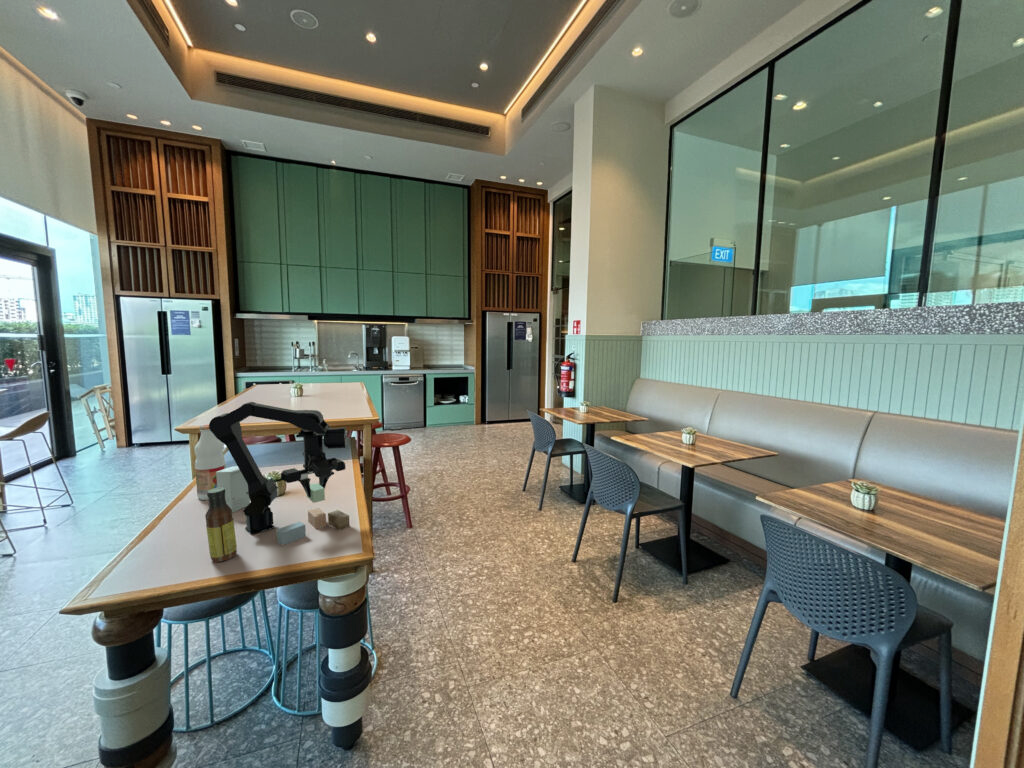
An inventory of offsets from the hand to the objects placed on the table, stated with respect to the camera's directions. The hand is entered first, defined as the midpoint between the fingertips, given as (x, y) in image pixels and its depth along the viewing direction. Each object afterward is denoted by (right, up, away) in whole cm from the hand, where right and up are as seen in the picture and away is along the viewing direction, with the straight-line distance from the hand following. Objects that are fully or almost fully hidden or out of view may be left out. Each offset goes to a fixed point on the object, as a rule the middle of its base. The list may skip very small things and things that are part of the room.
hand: (315, 495), depth 135 cm
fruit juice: (-52, -7, +25) cm, 58 cm away
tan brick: (0, -10, +1) cm, 10 cm away
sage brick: (0, -1, 0) cm, 1 cm away
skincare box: (-36, -8, +13) cm, 39 cm away
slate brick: (-3, -11, -10) cm, 15 cm away
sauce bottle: (-16, -12, -21) cm, 29 cm away
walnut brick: (+8, -10, 0) cm, 13 cm away
